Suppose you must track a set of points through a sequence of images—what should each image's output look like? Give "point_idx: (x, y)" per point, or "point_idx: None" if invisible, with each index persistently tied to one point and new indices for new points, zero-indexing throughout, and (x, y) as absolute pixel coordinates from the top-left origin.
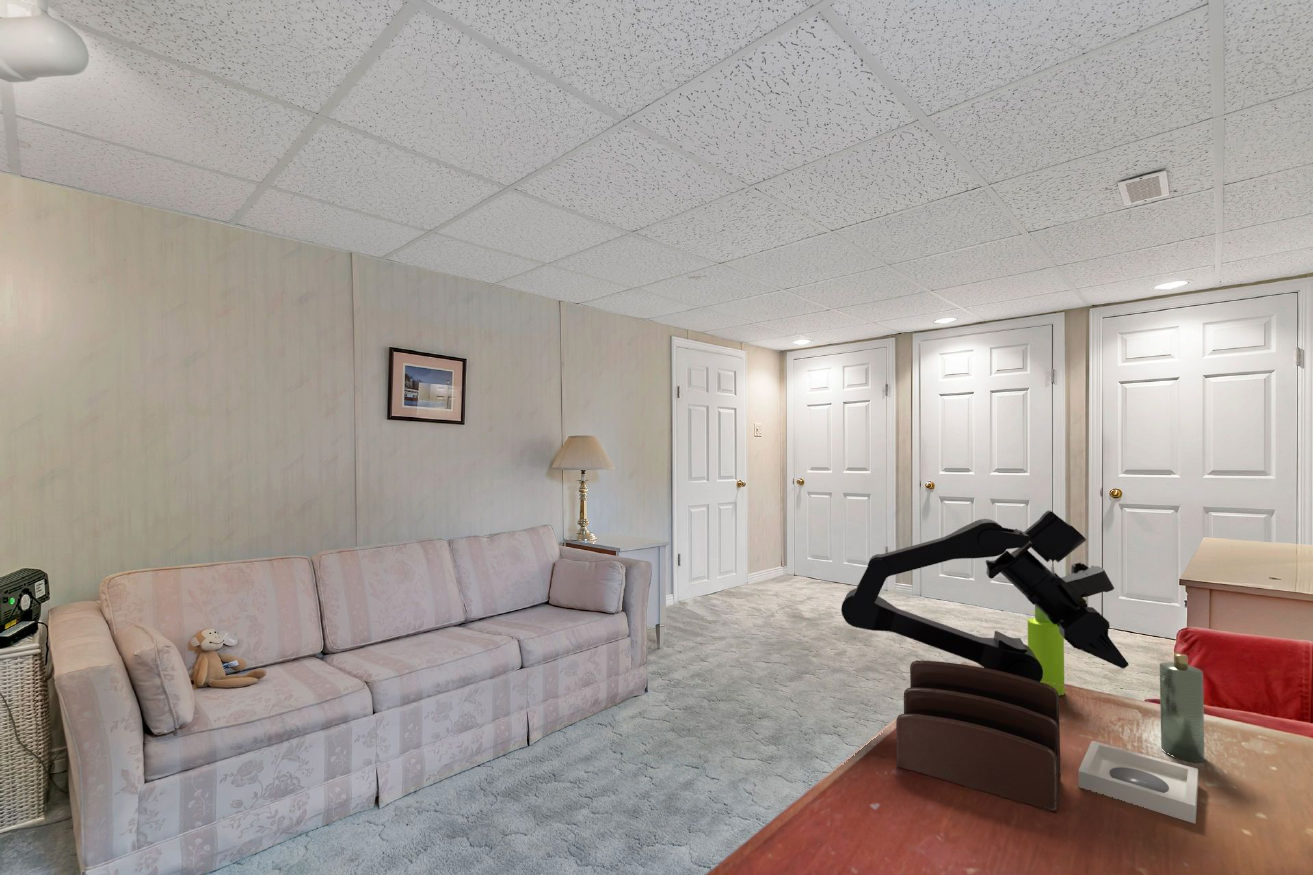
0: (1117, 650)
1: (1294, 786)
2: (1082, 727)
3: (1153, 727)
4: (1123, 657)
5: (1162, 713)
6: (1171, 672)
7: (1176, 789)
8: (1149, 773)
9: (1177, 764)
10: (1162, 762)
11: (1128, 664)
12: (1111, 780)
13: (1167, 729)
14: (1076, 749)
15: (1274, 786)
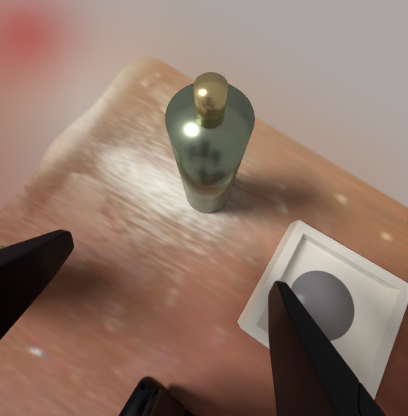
0: (337, 356)
1: (262, 127)
2: (141, 286)
3: (130, 183)
4: (306, 311)
5: (205, 198)
6: (236, 152)
7: (331, 266)
8: (295, 277)
9: (292, 239)
10: (291, 256)
11: (286, 283)
12: (382, 373)
13: (215, 203)
14: (222, 337)
15: (268, 145)
